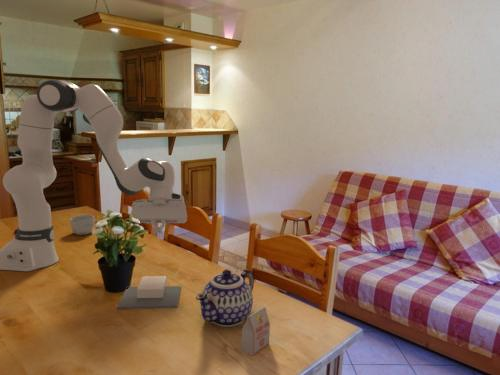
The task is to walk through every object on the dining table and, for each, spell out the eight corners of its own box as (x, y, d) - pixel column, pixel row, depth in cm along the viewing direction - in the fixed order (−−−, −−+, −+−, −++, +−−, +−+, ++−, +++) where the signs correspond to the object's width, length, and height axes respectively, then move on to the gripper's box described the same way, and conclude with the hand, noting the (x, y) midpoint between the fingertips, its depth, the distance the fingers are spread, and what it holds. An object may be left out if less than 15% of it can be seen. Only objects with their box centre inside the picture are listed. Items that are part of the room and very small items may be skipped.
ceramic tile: (142, 285, 134) (137, 298, 124) (142, 276, 134) (136, 289, 124) (166, 284, 135) (162, 298, 125) (166, 276, 134) (162, 289, 125)
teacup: (89, 236, 185) (88, 220, 183) (66, 236, 185) (65, 219, 183) (100, 228, 199) (100, 212, 197) (79, 227, 199) (78, 212, 197)
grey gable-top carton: (241, 350, 100) (242, 313, 98) (258, 339, 105) (259, 304, 103) (252, 356, 98) (253, 319, 96) (269, 344, 103) (270, 309, 101)
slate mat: (117, 308, 119) (116, 307, 119) (127, 288, 133) (127, 286, 133) (177, 307, 121) (177, 306, 120) (181, 287, 134) (181, 286, 134)
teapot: (235, 296, 130) (236, 253, 127) (272, 311, 121) (274, 265, 118) (176, 325, 111) (176, 276, 108) (215, 346, 101) (216, 292, 99)
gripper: (131, 195, 145) (126, 228, 138) (187, 195, 147) (185, 228, 139) (134, 203, 150) (129, 236, 143) (188, 204, 152) (186, 236, 145)
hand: (157, 232), depth 141 cm, fingers closed
